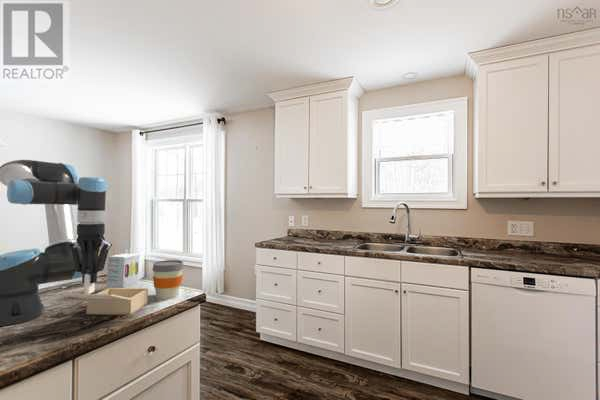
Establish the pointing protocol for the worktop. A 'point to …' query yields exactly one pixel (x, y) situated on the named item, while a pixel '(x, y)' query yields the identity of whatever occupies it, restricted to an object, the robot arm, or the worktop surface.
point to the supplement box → (123, 271)
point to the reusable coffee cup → (167, 278)
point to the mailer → (119, 302)
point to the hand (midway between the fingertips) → (89, 292)
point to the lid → (97, 296)
